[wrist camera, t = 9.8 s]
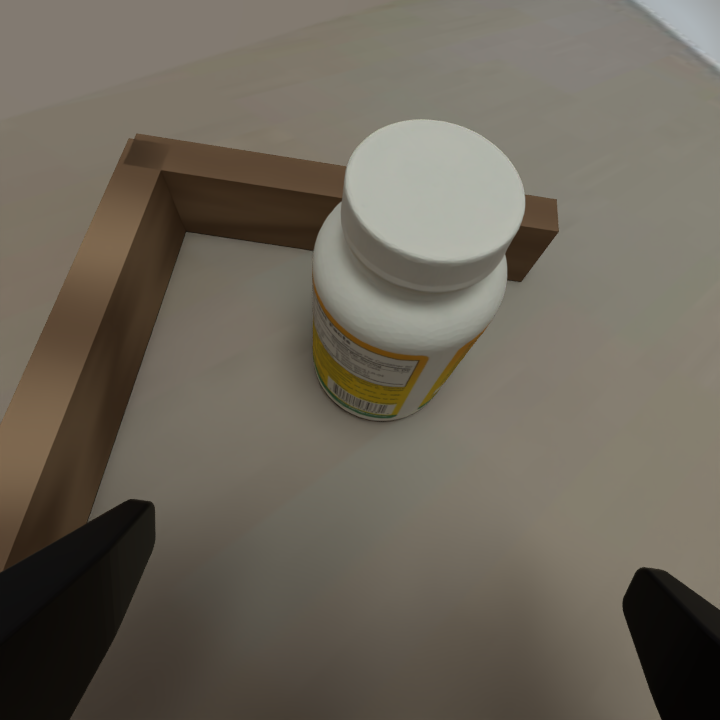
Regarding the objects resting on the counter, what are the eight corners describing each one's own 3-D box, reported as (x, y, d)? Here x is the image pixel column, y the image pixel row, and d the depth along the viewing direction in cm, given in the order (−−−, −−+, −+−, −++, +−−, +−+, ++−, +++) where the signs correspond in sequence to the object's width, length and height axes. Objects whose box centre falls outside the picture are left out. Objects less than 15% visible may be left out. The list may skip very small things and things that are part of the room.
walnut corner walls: (531, 669, 15) (591, 702, 11) (4, 604, 14) (-87, 618, 11) (520, 252, 21) (556, 199, 18) (160, 197, 21) (131, 132, 18)
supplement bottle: (335, 440, 17) (352, 320, 8) (298, 319, 19) (279, 115, 10) (464, 401, 18) (602, 258, 9) (417, 290, 20) (494, 83, 11)
